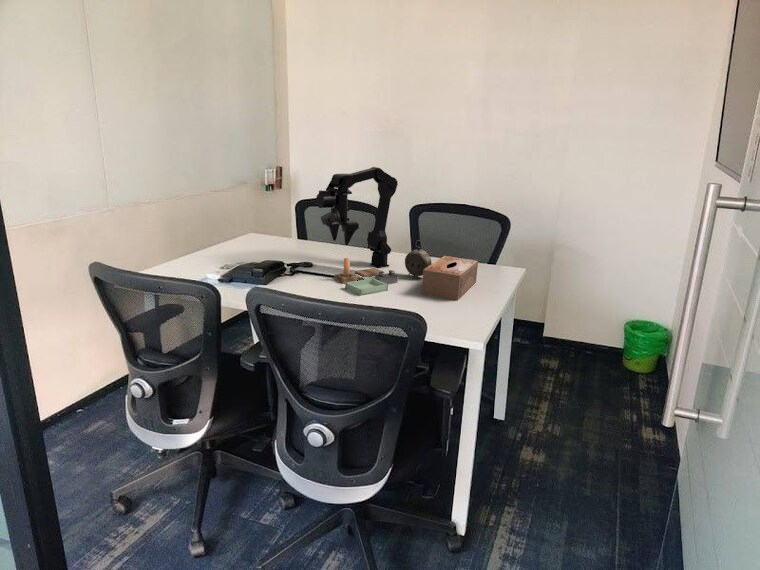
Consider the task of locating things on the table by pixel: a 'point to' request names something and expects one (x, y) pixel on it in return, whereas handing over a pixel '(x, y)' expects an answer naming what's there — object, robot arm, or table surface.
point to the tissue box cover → (449, 277)
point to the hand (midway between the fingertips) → (340, 242)
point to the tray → (366, 286)
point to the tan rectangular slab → (368, 272)
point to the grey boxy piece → (387, 277)
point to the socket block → (345, 278)
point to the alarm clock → (417, 261)
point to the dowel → (346, 267)
